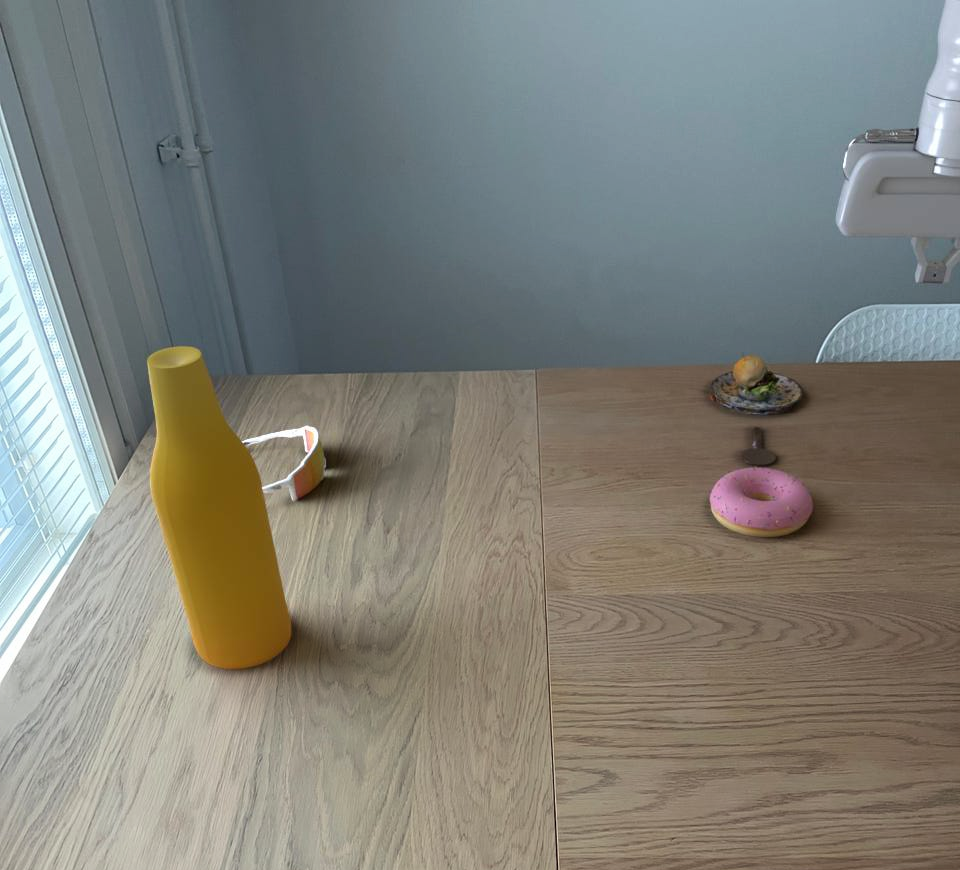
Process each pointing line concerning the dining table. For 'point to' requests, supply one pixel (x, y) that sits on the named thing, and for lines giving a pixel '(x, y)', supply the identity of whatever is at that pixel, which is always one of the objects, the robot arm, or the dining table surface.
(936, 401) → the dining table surface
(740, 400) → the burger
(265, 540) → the beer bottle
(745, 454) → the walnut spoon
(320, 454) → the sunglasses
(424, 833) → the dining table surface
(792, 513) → the doughnut
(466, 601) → the dining table surface
